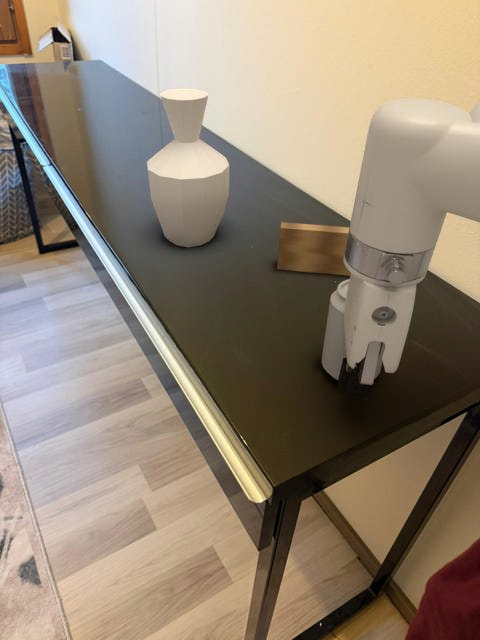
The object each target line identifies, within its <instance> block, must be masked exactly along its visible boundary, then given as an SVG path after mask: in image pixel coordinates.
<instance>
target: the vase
mask: <svg viewBox="0 0 480 640" xmlns="http://www.w3.org/2000/svg"><path fill="white" fill-rule="evenodd" d="M159 95H160V99H161V103H162V105H163V108H164V111H165V114H166V117H167V120H168V123H169V126H170V129H171V132H172V136H173V138H174V139H172V140H171V141H170V142H168V144H166V145H165V146H164V147H163V148H161V149H160V150H159V151H158V152H156V153H155V154H154V155H153V156H152V157H150V158H149V159H148V160H147V161H146V165H147V176H148V184H149V194H150V200H151V203H152V206H153V209H154V212H155V214H156V216H157V219H158V222H159V224H160V227H161V229H162V233H163V236H164V237H165V238H166V239H167V241H169V242H170V243H172V244H174V245H175V246H179V247H185V248H193V247H199V246H202V245H205V244H207V243H209V242H210V241H211V240H212V239H213V238H214V237H215V235H216V232H217V231H218V228H219V226H220V224H221V221H222V220H223V217H224V214H225V210H226V207H227V203H228V199H229V196H230V164H229V161H228V159H227V157H225V155H223V154H221V153H220V152H219V151H218V150H216V149H215V148H213V147H212V146H210V144H208V143H206V142H205V141H203V140H202V139H201V138H200V135H201V131H202V126H203V122H204V117H205V113H206V108H207V105H208V104H207V103H208V99H209V93H208V92H207V91H205V90H202V89H199V88H198V89H197V88H189V87H187V88H186V87H185V88H182V87H181V88H172V89H165V90H164V91H161V92H160V93H159Z"/></svg>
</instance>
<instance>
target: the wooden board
mask: <svg viewBox="0 0 480 640" xmlns="http://www.w3.org/2000/svg"><path fill="white" fill-rule="evenodd" d="M349 227H350V226H349ZM349 227H348V226H347V227H346V226H336V225H323V224H312V223H311V224H309V223H299V222H287V221H286V222H284V221H281V222H280V227H279V228H280V231H279V240H278V241H279V242H278V255H277V264H276V265H277V266H276V270H281V271H290V272H291V271H292V272H304V273H315V274H327V275H335V276H336V275H337V276H348V277H350V276H351V272H350V271H349V270H348V269H347V268H346V266H345V264H344V260H343V259H344V253H345V248H346V243H347V237H348V232H349Z"/></svg>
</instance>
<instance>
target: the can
mask: <svg viewBox="0 0 480 640" xmlns="http://www.w3.org/2000/svg"><path fill="white" fill-rule="evenodd" d="M349 280H350V278H348V279H346V280H343V281H340V283H339V284H338V285H337V288H336V290H334V291H333V292H332V293H331V295H330V299H329V305H328V312H327V320H326V327H325V333H324V339H323V347H322V355H321V365H322V367H323V369H324V370H325V371H326V373H327V374H329V375H330V376H331V377H332V378H333V379H335V380H336V381H338V378H339V374H340V369H341V365H342V361H343V357H344V358H347V357H346V356H345V351H346V344H345V329H344V308H345V300H346V294H347V289H348V285H349ZM382 365H383V361H382V356H379V359H378V362H377V367H376V372H375V377H374V380H375V379H377V377H378V376H379V374H381V369H382Z"/></svg>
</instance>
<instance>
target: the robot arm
mask: <svg viewBox="0 0 480 640" xmlns="http://www.w3.org/2000/svg"><path fill="white" fill-rule="evenodd" d="M356 186H357V187H356V193H355V197H354V202H353V207H352V212H351V218H350V223H349V232H348V237H347V243H346V248H345V253H344V259H343V260H344V264H345V266H346V268H347V269H348V270H349V271H350V272H351V276H349V279H350V280H349V285H348V289H347V294H346V300H345V308H344V329H345V344H346V351H345V356H346V357H347V358H344V357H343V361H342V365H341V369H340V374H339V378H338V380H337V382H338V383H337V384H338V387H337V388H338V392H340V393H343V394H345V393H346V394H352V395H353V394H354V395H363V396H365V395H367V393H368V390H369V387H370V386H373V385H374V381H375V379H374V377H375V372H376V367H377V362H378V359H379V356H382V365H383V368H384V372H385V373H386V374H387V373H389V374H394V373H396V371H397V370H398V368H399V365H400V362H401V359H402V355H403V351H404V348H405V344H406V341H407V337H408V333H409V329H410V325H411V321H412V316H413V312H414V311H413V310H414V306H415V301H416V294H417V284H419V283H421V282H422V281H423V280H424V279H425V278H426V276H427V273H428V269H429V268H430V264H431V261H432V258H433V255H434V253H435V249H436V246H437V243H438V240H439V238H440V234H441V232H442V229H443V225H444V223H445V220H446V216H447V214H451V215H455V216H457V217H461V218H465V219H467V220H470V221H473V222H477V223H480V99H479V100H478V101H477V102H476V103H475V104H474V106H473V107H472V109H471V110H470V111H469V112H468V111H467V110H465V109H464V108H462V107H460V106H458V105H456V104H454V103H450V102H447V101H444V100H439V99H438V100H437V99H431V98H424V97H423V98H421V97H404V98H396V99H393V100H389V101H387V102H386V101H385V102H383V104H381V105H380V106H379V107H377V109H376V110H375V111H374V113H373V115H372V117H371V119H370V122H369V126H368V131H367V135H366V140H365V145H364V150H363V156H362V161H361V167H360V172H359V177H358V182H357V185H356Z"/></svg>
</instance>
